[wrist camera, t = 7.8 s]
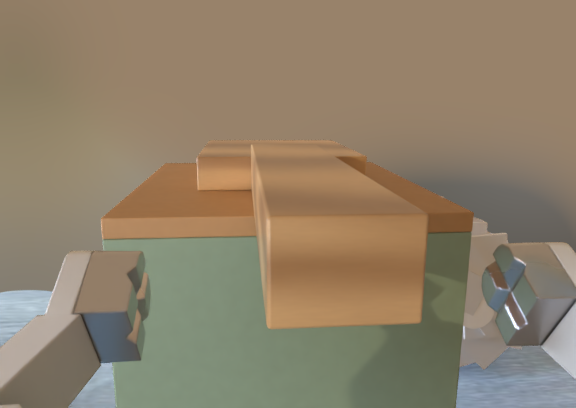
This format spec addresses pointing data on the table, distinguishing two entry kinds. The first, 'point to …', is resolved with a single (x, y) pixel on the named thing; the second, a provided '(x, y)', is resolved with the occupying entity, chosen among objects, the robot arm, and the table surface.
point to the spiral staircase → (481, 302)
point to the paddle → (324, 233)
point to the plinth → (251, 312)
